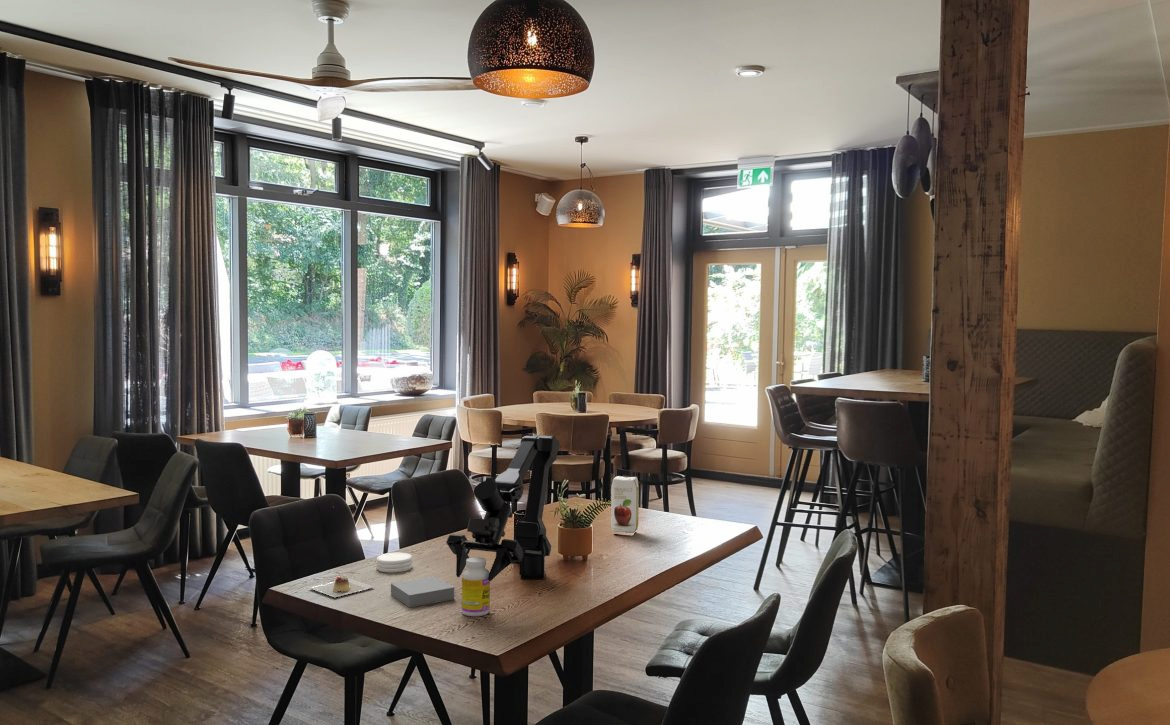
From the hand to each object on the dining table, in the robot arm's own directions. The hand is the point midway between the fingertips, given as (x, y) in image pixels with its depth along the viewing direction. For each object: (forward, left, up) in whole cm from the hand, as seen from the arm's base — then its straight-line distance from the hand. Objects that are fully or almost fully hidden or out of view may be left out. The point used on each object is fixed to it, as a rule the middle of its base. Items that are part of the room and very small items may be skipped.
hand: (473, 578), depth 201 cm
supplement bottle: (-1, -1, -9) cm, 9 cm away
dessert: (+37, -20, -9) cm, 43 cm away
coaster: (+27, -40, -9) cm, 50 cm away
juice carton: (-41, -83, -9) cm, 93 cm away
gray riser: (+14, -13, -9) cm, 21 cm away
